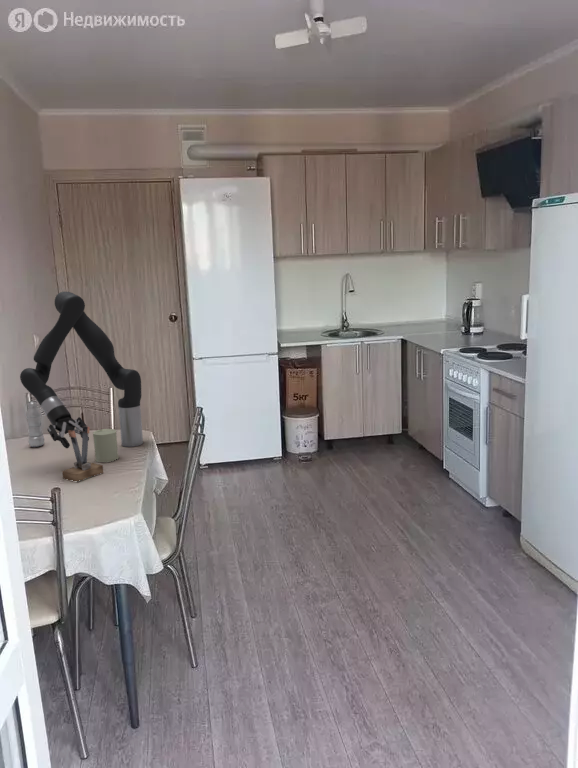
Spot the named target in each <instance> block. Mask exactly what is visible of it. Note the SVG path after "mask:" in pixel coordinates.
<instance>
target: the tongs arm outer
mask: <svg viewBox="0 0 578 768" xmlns="http://www.w3.org/2000/svg"><path fill="white" fill-rule="evenodd" d="M67 434H68V436H69V438H70V440H71V444H72V449H73V451H74V452H73V453H74V455H75V459H76V462H77V464H78V467H80V468H82V465H83V462H82V458H81V456H82V453H81V451H80V447H79V442H78V440H77V433H75V431H73V430H69V431H68V433H67Z"/></svg>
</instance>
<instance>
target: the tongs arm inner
mask: <svg viewBox="0 0 578 768" xmlns="http://www.w3.org/2000/svg"><path fill="white" fill-rule="evenodd" d="M90 430H91V429H90V426H87V425H86V426H83V437H81V440H82V441H81V458H82V462H83V464H85V463H87V462H88V449H89V441H88V437H89V434H90Z"/></svg>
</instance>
